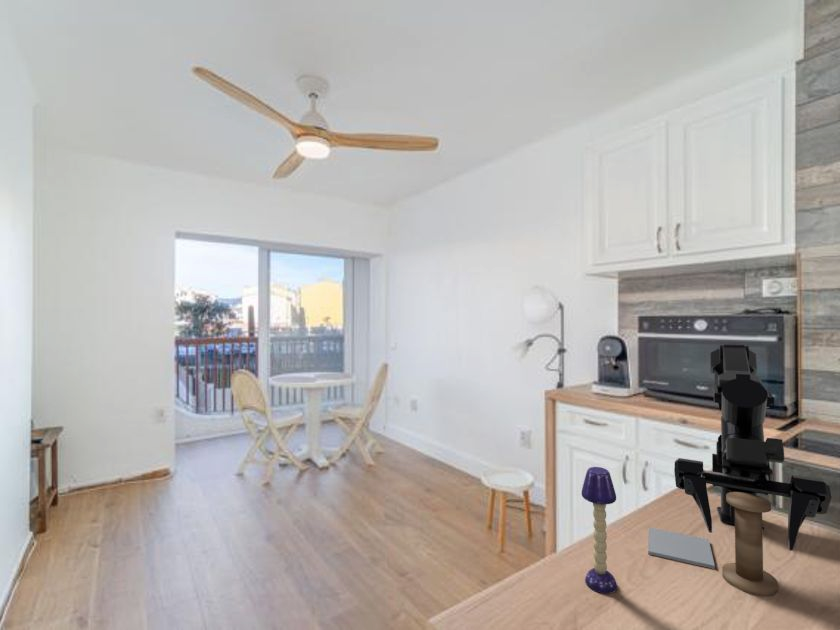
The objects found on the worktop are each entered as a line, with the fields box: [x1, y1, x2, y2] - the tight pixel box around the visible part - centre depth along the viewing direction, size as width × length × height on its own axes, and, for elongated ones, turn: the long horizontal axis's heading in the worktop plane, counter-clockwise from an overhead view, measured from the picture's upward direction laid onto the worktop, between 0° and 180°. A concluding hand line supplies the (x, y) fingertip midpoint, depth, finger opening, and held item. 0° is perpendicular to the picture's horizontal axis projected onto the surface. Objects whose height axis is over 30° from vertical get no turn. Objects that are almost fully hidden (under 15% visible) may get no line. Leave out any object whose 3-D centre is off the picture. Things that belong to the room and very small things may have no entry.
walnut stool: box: [721, 492, 779, 597], centre depth 63 cm, size 6×6×12 cm
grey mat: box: [647, 527, 716, 570], centre depth 72 cm, size 9×9×1 cm
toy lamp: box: [581, 466, 618, 594], centre depth 62 cm, size 5×5×17 cm
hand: (749, 540), depth 61 cm, fingers open, 9 cm apart
